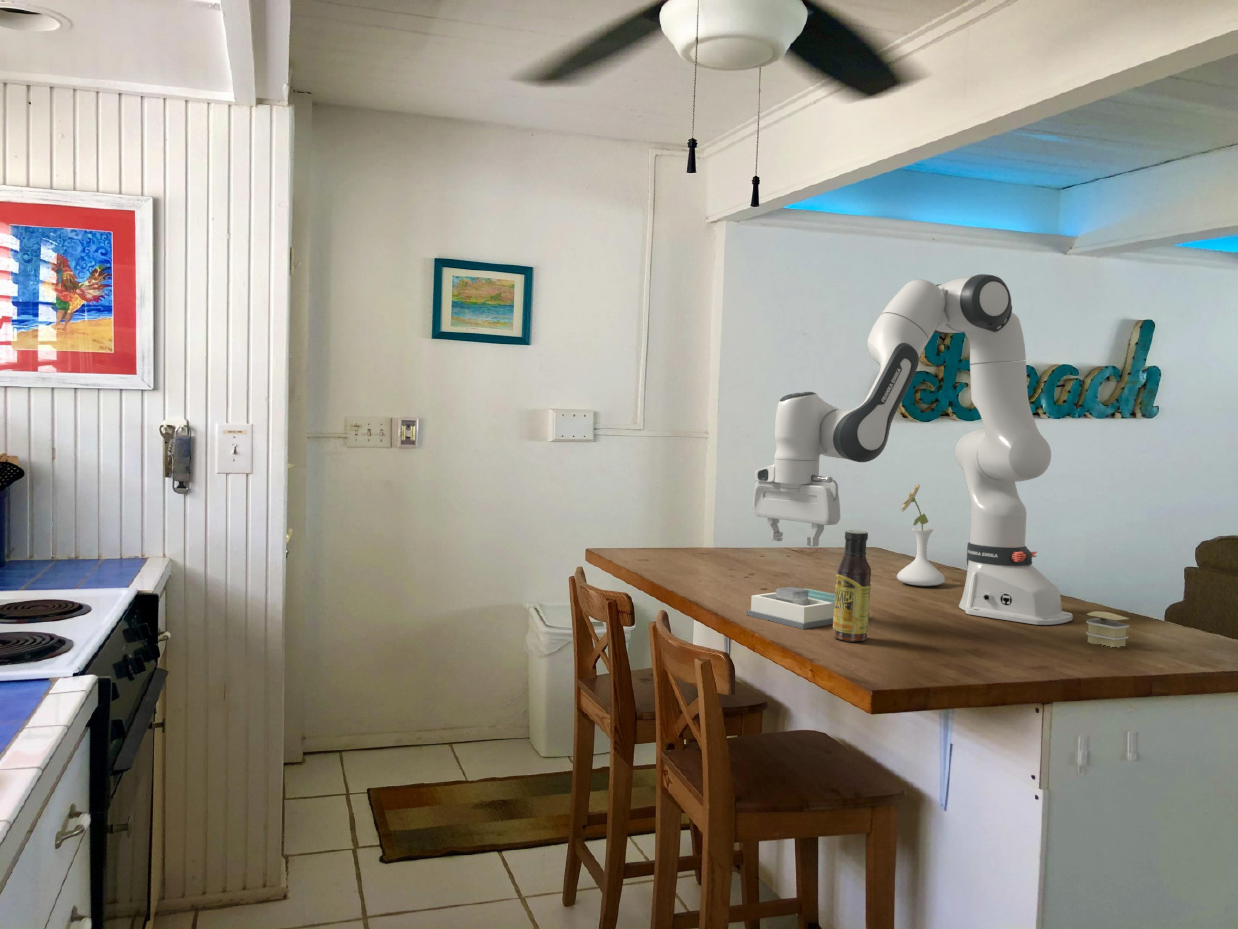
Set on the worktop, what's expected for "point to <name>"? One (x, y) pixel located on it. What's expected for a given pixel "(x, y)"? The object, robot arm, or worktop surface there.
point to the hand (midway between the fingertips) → (794, 543)
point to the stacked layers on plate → (1106, 629)
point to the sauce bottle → (852, 590)
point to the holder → (795, 610)
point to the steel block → (793, 595)
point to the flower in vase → (920, 553)
